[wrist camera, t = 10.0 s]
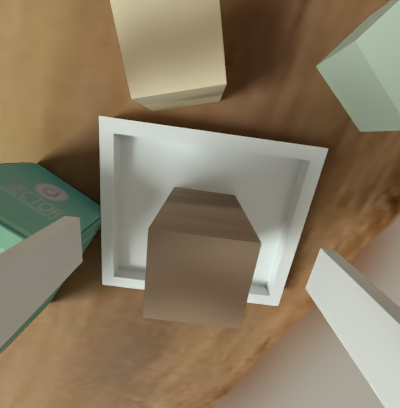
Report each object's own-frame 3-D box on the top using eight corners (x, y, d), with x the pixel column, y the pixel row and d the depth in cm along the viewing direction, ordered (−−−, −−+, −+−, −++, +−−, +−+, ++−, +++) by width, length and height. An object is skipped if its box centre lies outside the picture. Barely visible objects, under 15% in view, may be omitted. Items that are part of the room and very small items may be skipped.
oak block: (139, 32, 14) (105, -24, 9) (211, 19, 13) (215, -46, 9) (153, 111, 15) (131, 99, 11) (219, 101, 15) (226, 84, 10)
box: (115, 208, 18) (54, 254, 11) (51, 303, 21) (-27, 386, 14) (38, 156, 17) (-89, 169, 9) (-17, 266, 20) (-139, 336, 13)
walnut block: (174, 186, 16) (148, 228, 9) (234, 195, 16) (261, 243, 9) (168, 241, 18) (142, 317, 10) (224, 248, 18) (239, 328, 10)
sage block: (314, 66, 14) (355, 40, 10) (366, 18, 13) (431, -30, 10) (358, 132, 16) (409, 129, 12) (408, 91, 15) (480, 75, 11)
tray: (110, 118, 15) (98, 115, 14) (314, 147, 16) (328, 148, 14) (111, 271, 20) (102, 284, 18) (271, 291, 20) (278, 306, 18)
